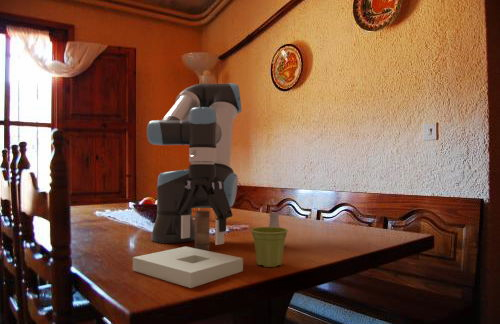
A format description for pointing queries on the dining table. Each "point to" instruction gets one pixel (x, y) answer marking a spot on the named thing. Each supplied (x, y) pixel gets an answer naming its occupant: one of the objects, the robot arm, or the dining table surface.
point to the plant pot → (269, 245)
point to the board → (188, 266)
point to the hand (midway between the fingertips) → (201, 241)
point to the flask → (274, 220)
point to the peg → (202, 230)
